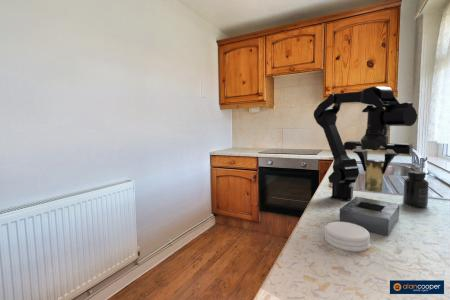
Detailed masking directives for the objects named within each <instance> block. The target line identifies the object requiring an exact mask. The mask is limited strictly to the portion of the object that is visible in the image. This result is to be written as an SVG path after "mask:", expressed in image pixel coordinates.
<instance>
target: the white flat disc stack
mask: <svg viewBox="0 0 450 300" xmlns="http://www.w3.org/2000/svg"><path fill="white" fill-rule="evenodd" d="M370 236H371V235H370V232H369V231H367V230H366V229H365V228H363V227H361V226H359V225H356V224H352V223H348V222H339V221H332V222H329V223H327V224H326V225H325V226H324V240H325V242H326V243H328V245H330V246H332V247H333V248H336V249H338V250H342V251H345V252H353V253H357V252H364V251H366V250H368V249H369V247H370V241H371V240H370Z"/></svg>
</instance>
